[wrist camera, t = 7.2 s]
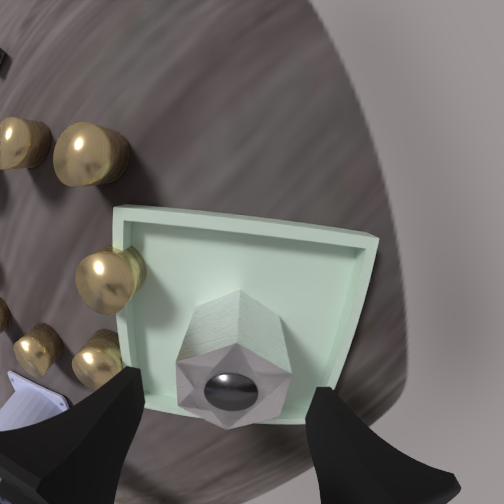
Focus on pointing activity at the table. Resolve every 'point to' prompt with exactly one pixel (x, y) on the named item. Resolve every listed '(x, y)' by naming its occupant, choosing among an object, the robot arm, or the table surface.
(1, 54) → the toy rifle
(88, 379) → the set of brass balls
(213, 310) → the steel nut
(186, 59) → the table surface
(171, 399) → the tray
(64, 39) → the table surface
